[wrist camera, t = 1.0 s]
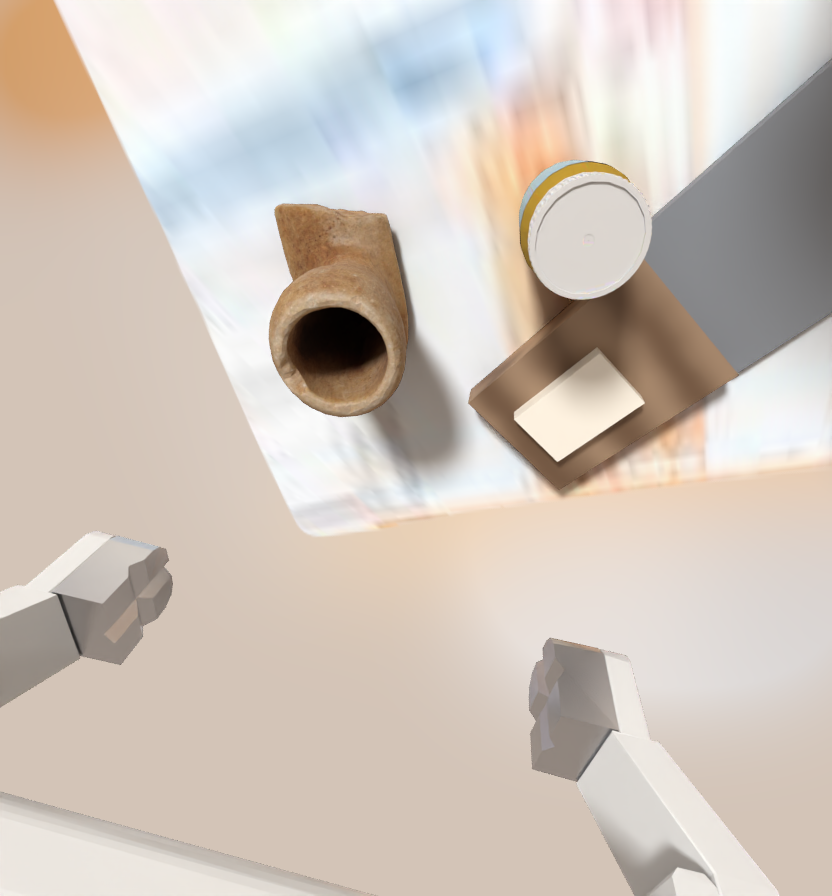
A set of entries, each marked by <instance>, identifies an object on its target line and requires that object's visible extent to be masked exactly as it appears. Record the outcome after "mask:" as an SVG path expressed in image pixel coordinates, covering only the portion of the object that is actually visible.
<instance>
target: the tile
mask: <svg viewBox="0 0 832 896" xmlns="http://www.w3.org/2000/svg"><path fill="white" fill-rule="evenodd" d="M644 403H645V402H644V400H643V398H642V396H641V395H640V394H639V393H638V392H637V391H636V389H635V388H634V387H633V386H632V385H631V384H630V383H629V382H628V381H627V379H626V378H625V377H624V376H623V375H622V374H621V373H620V372H619V371H618V370H617V368H616V367H615V366H614V365H613V364H612V363H611V362H610V361H609V360H608V359H607V357H606V356H605V355H604V354H603V353H602V352H601V351H600V350H599V349H598V347H597V348H595V349H594V350H593V351H591V352H590V353H589V354H588V355H586V356H585V357H584V358H583V359H581V360H580V361H579V362H577V363H576V364H575V365H574V366H572V367H571V368H570V369H568V370H567V371H566V372H565V373H563V374H562V375H561V376H560V377H558V378H557V379H556V380H554V381H553V382H552V383H551V384H549V385H548V386H547V387H545V388H544V389H543V390H542V391H540V392H539V393H538V394H536V395H535V396H534V397H533V398H531V399H530V400H529V401H528V402H526V403H525V404H524V405H522V406H521V407H520V408H519V409H517V410H516V411H515V412H514V420H515V421H516V422H517V423H518V424H519V425H520V426H521V427H522V428H523V429H524V430H525V431H526V432H527V433H528V434H529V435H530V436H531V437H532V438H533V439H534V440H535V441H536V442H537V443H538V444H540V445H541V446H542V447H543V448H544V449H545V450H546V451H547V452H548V453H549V454H550V455H551V456H552V457H553V458H554V459H555V460H556V461H557V462H558V461H560V460H561V459H563V458H564V457H566V456H567V455H569V454H570V453H572V452H573V451H575V450H576V449H578V448H579V447H581V446H582V445H584V444H585V443H587V442H588V441H590V440H591V439H593V438H594V437H595V436H597V435H598V434H600V433H601V432H603V431H604V430H606V429H607V428H609V427H610V426H612V425H613V424H615V423H616V422H618V421H619V420H621V419H622V418H624V417H625V416H627V415H628V414H630V413H631V412H633V411H634V410H635V409H637V408H638V407H640V406H641V405H643V404H644Z"/></svg>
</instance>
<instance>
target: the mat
mask: <svg viewBox="0 0 832 896" xmlns="http://www.w3.org/2000/svg"><path fill="white" fill-rule="evenodd" d="M644 259H645V261H646V262H647V263H648V264H649V266H650V267H651V268H652V269H653V270H654V272H655V273H656V274H657V275H658V277H659V278H660V279H661V280H662V281H663V283H664V284H665V285H666V286H667V288H668V289H669V290H670V291H671V292H672V294H673V295H674V296H675V297H676V299H677V300H678V301H679V302H680V304H681V305H682V306H683V307H684V308H685V310H686V311H687V312H688V313H689V315H690V316H691V317H692V318H693V319H694V321H695V322H696V323H697V324H698V326H699V327H700V328H701V329H702V330H703V332H704V333H705V334H706V335H707V337H708V338H709V339H710V340H711V341H712V343H713V344H714V345H715V346H716V348H717V349H718V350H719V351H720V352H721V354H722V355H723V356H724V357H725V359H726V360H727V361H728V362H729V363H730V365H731V366H732V367H733V368H734V370H735V371H736V372H737V373H738V372H740V371H742V370H743V369H745V368H746V367H748V366H749V365H751V364H752V363H754V362H756V361H757V360H759V359H760V358H762V357H763V356H765V355H767V354H768V353H770V352H771V351H773V350H774V349H776V348H777V347H779V346H781V345H782V344H784V343H785V342H787V341H788V340H790V339H791V338H793V337H795V336H796V335H798V334H799V333H801V332H802V331H804V330H806V329H807V328H809V327H810V326H812V325H813V324H815V323H816V322H818V321H820V320H821V319H823V318H824V317H826V316H827V315H829V314H830V313H832V59H831V60H830V61H829V62H828V63H826V64H825V65H824V66H823V67H822V68H821V69H820V70H818V71H817V72H816V73H815V74H814V75H813V76H812V77H810V78H809V79H808V80H807V81H806V82H805V83H804V84H803V85H801V86H800V87H799V88H798V89H797V90H796V91H795V92H793V93H792V94H791V95H790V96H789V97H788V98H787V99H786V100H784V101H783V102H782V103H781V104H780V105H779V106H778V107H776V108H775V109H774V110H773V111H772V112H771V113H770V114H768V115H767V116H766V117H765V118H764V119H763V120H762V121H761V122H759V123H758V124H757V125H756V126H755V127H754V128H753V129H751V130H750V131H749V132H748V133H747V134H746V135H745V136H744V137H742V138H741V139H740V140H739V141H738V142H737V143H736V144H734V145H733V146H732V147H731V148H730V149H729V150H728V151H726V152H725V153H724V154H723V155H722V156H721V157H720V158H719V159H717V160H716V161H715V162H714V163H713V164H712V165H711V166H709V167H708V168H707V169H706V170H705V171H704V172H703V173H702V174H700V175H699V176H698V177H697V178H696V179H695V180H694V181H692V182H691V183H690V184H689V185H688V186H687V187H686V188H685V189H683V190H682V191H681V192H680V193H679V194H678V195H677V196H675V197H674V198H673V199H672V200H671V201H670V202H669V203H667V204H666V205H665V206H664V207H663V208H662V209H661V210H660V211H658V212H657V213H656V214H655V215H654V216H653V217H652V235H651V241H650V244H649V248H648V251H647V253H646V256H645V258H644Z"/></svg>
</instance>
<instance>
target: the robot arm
mask: <svg viewBox="0 0 832 896" xmlns="http://www.w3.org/2000/svg"><path fill="white" fill-rule="evenodd" d="M168 561H169V559H168V555H167V551H166V549H164V548H161V547H158V546H154V545H150V544H146V543H142V542H139V541H135V540H131V539H127V538H124V537H120V536H115V535H111V534H107V533H103V532H99V531H93V532H91V533H88V534H86V535H84V537H82V538H81V539H80V540H79V541H77V542H76V543H75V544H74V545H73V546H72V547H70V548H69V549H68V550H67V551H66V552H65V553H63V554H62V555H61V556H60V557H59V558H58V559H56V560H55V561H54V562H53V563H52V564H51V565H49V566H48V567H47V568H46V569H45V570H43V571H42V572H41V573H40V574H39V575H38V576H36V577H35V578H34V579H33V580H32V581H31V582H29V583H28V584H27V585H26V586H21V585H16V586H13V587H11V588H8V589H6V590H3V591H0V707H2V706H3V705H5V704H7V703H8V702H10V701H12V700H13V699H15V698H16V697H18V696H20V695H21V694H23V693H24V692H26V691H28V690H30V689H31V688H33V687H34V686H36V685H37V684H39V683H41V682H43V681H44V680H46V679H47V678H49V677H51V676H52V675H54V674H56V673H57V672H59V671H60V670H62V669H64V668H65V667H67V666H69V665H70V664H72V663H74V662H75V661H77V660H79V659H80V656H83V657H87V658H92V659H96V660H101V661H106V662H110V663H114V664H119V665H121V664H122V663H123V661H124V660H125V659H126V658H127V656H128V655H129V654H130V652H131V651H132V650H133V649H134V647H135V646H136V645H137V644H138V642H139V641H140V640H141V639H142V637H143V626H144V625H146V624H148V623H150V622H152V621H154V620H156V619H157V618H158V617H159V615H160V614H161V613H162V611H163V610H164V609H165V607H166V605H167V603H168V601H169V598H170V596H171V593H172V585H173V583H172V576H171V574H170V573H169V572H168V571H167V570H166V569H165V568H164V566H165V564H166V563H167V562H168ZM529 711H530V712H531V714H532V715H533V717H534V718H535V720H536V723H535V725H534V727H533V729H532V731H531V733H530V736H531V755H532V769H534V770H537V771H541V772H544V773H548V774H551V775H555V776H558V777H562V778H565V779H569V780H573V781H576V782H577V783H576V785H577V787H578V789H579V791H580V792H581V794H582V796H583V798H584V800H585V802H586V804H587V806H588V807H589V810H590V811H591V813H592V815H593V817H594V819H595V821H596V823H597V825H598V827H599V829H600V831H601V832H602V834H603V836H604V838H605V840H606V842H607V844H608V846H609V848H610V850H611V852H612V853H613V855H614V857H615V859H616V861H617V863H618V865H619V867H620V869H621V871H622V873H623V875H624V876H625V878H626V880H627V882H628V884H629V886H630V888H631V890H632V892H633V894H634V895H635V896H779V893H778V891H777V890H776V888H775V887H774V886H773V885H772V883H771V882H770V881H769V880H768V878H767V877H766V876H765V875H764V873H763V872H762V871H761V870H760V868H759V867H758V866H757V864H756V863H755V862H754V861H753V860H752V858H751V857H750V856H749V854H748V853H747V852H746V851H745V849H744V848H743V847H742V846H741V844H740V843H739V842H738V841H737V839H736V838H735V837H734V836H733V834H732V833H731V832H730V831H729V829H728V828H727V827H726V825H725V824H724V823H723V822H722V820H721V819H720V818H719V817H718V815H717V814H716V813H715V812H714V810H713V809H712V808H711V807H710V805H709V804H708V803H707V802H706V800H705V799H704V798H703V797H702V795H701V794H700V793H699V792H698V790H697V789H696V788H695V787H694V785H693V784H692V783H691V781H690V780H689V779H688V778H687V777H686V775H685V774H684V773H683V771H682V770H681V769H680V768H679V766H678V765H677V764H676V763H675V761H674V760H673V759H672V758H671V756H670V755H669V754H668V753H667V751H666V750H665V749H664V748H663V746H662V745H661V744H660V743H659V742H657V741H653V740H651V738H650V734H649V730H648V727H647V723H646V719H645V715H644V711H643V708H642V704H641V700H640V696H639V693H638V689H637V685H636V682H635V677H634V674H633V670H632V666H631V662H630V660H629V659H628V657H627V656H626V655H622V654H618V653H614V652H609V651H605V650H600V649H598V648H594V647H590V646H585V645H581V644H576V643H572V642H567V641H562V640H558V639H554V638H549V639H548V640H547V641H546V643H545V645H544V647H543V660H541V661H538V662H536V665H535V668H534V670H533V672H532V677H531V682H530V687H529ZM0 896H376V895H372V894H369V893H365V892H361V891H358V890H354V889H351V888H347V887H343V886H340V885H336V884H332V883H329V882H325V881H322V880H318V879H314V878H311V877H307V876H303V875H300V874H296V873H293V872H289V871H286V870H282V869H278V868H275V867H271V866H268V865H264V864H260V863H257V862H253V861H249V860H245V859H242V858H239V857H235V856H231V855H228V854H224V853H221V852H217V851H213V850H210V849H206V848H202V847H199V846H195V845H191V844H188V843H184V842H181V841H177V840H174V839H169V838H166V837H162V836H159V835H155V834H152V833H148V832H145V831H141V830H137V829H133V828H130V827H126V826H122V825H119V824H116V823H112V822H108V821H105V820H101V819H98V818H94V817H90V816H87V815H83V814H79V813H76V812H72V811H69V810H65V809H61V808H57V807H54V806H50V805H47V804H43V803H40V802H36V801H32V800H29V799H25V798H22V797H18V796H14V795H11V794H7V793H4V792H0Z"/></svg>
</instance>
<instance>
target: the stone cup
mask: <svg viewBox="0 0 832 896" xmlns="http://www.w3.org/2000/svg"><path fill="white" fill-rule="evenodd" d="M275 217H276V221H277V226H278V230H279V234H280V238H281V241H282V246H283V250H284V253H285V257H286V260H287V264H288V267H289V271H290V274H291V276H292V278H293V282H292V283H291V284H290V285H289V286H288V287H287V288H286V289H285V290H284V291H283V293H282V294H281V296H280V298H279V300H278V302H277V304H276V306H275V308H274V310H273V312H272V316H271V320H270V326H269V344H270V349H271V354H272V359H273V362H274V364H275V367H276V369H277V371H278V373H279V375H280V376H281V378H282V380H283V381H284V383H285V384H286V385H287V387H288V388H289V389H290V390H291V392H292V393H293V394H295V395H296V396H297V397H298V398H299V399H300V400H301V401H302V402H303V403H305V404H306V405H308V406H309V407H311V408H313V409H315V410H318V411H320V412H322V413H324V414H328V415H333V416H338V417H349V416H358V415H362V414H365V413H368V412H371V411H373V410H374V409H376V408H378V407H380V406H381V405H383V404H384V403H385V402H386V401H387V400H388V399H389V398H390V397H391V396H392V395H393V393H394V392H395V390H396V389H397V388H398V386H399V383H400V381H401V379H402V376H403V372H404V369H405V361H406V348H407V344H408V312H407V305H406V299H405V294H404V289H403V284H402V279H401V275H400V270H399V266H398V261H397V257H396V253H395V248H394V244H393V238H392V233H391V228H390V224H389V221H388V218H387V216H386V215H385V214H382V213H367V212H364V211H348V210H343V209H338V210H335V209H329V208H327V207H324V206H321V205H318V204H281V205H278V206H277V207H276V208H275Z"/></svg>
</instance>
